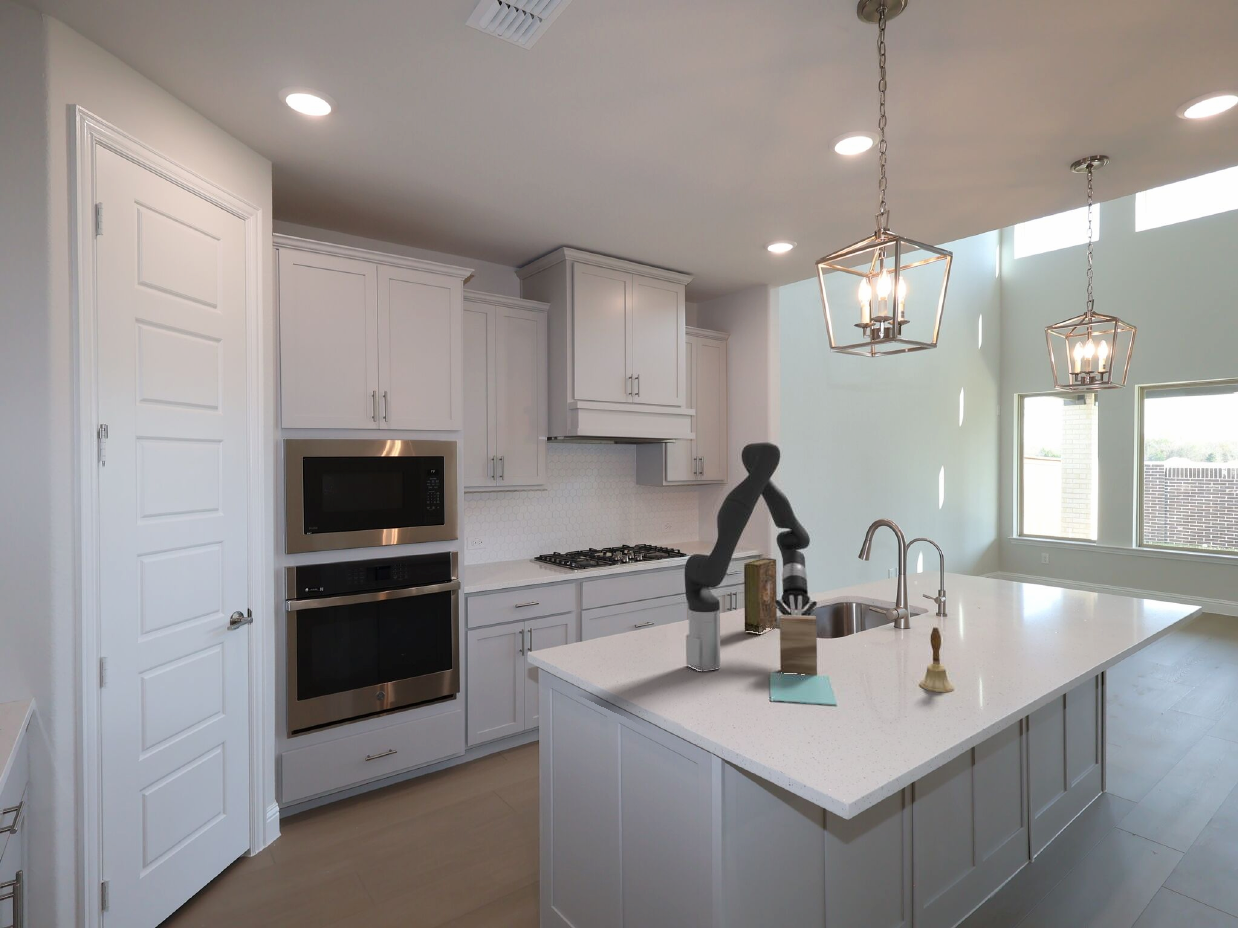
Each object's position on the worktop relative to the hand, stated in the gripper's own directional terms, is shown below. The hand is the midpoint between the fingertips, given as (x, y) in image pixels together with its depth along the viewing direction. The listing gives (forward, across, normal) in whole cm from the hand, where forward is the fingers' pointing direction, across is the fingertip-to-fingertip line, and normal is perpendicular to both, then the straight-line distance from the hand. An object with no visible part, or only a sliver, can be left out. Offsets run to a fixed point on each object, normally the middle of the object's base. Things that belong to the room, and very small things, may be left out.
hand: (796, 629), depth 194 cm
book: (-21, -10, +37) cm, 44 cm away
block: (+12, 0, +3) cm, 12 cm away
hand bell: (+16, +35, 0) cm, 39 cm away
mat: (+22, 0, -6) cm, 23 cm away
